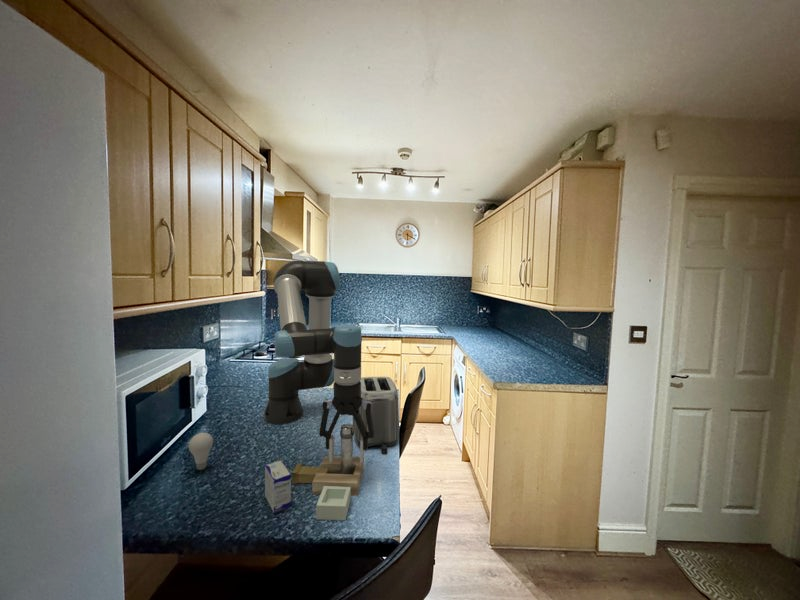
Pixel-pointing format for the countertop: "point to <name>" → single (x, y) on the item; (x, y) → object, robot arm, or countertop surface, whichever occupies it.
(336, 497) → the tray
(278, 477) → the box
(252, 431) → the countertop surface
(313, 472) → the yellow brown block
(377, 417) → the toaster
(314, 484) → the socket block
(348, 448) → the grey peg
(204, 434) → the lightbulb
